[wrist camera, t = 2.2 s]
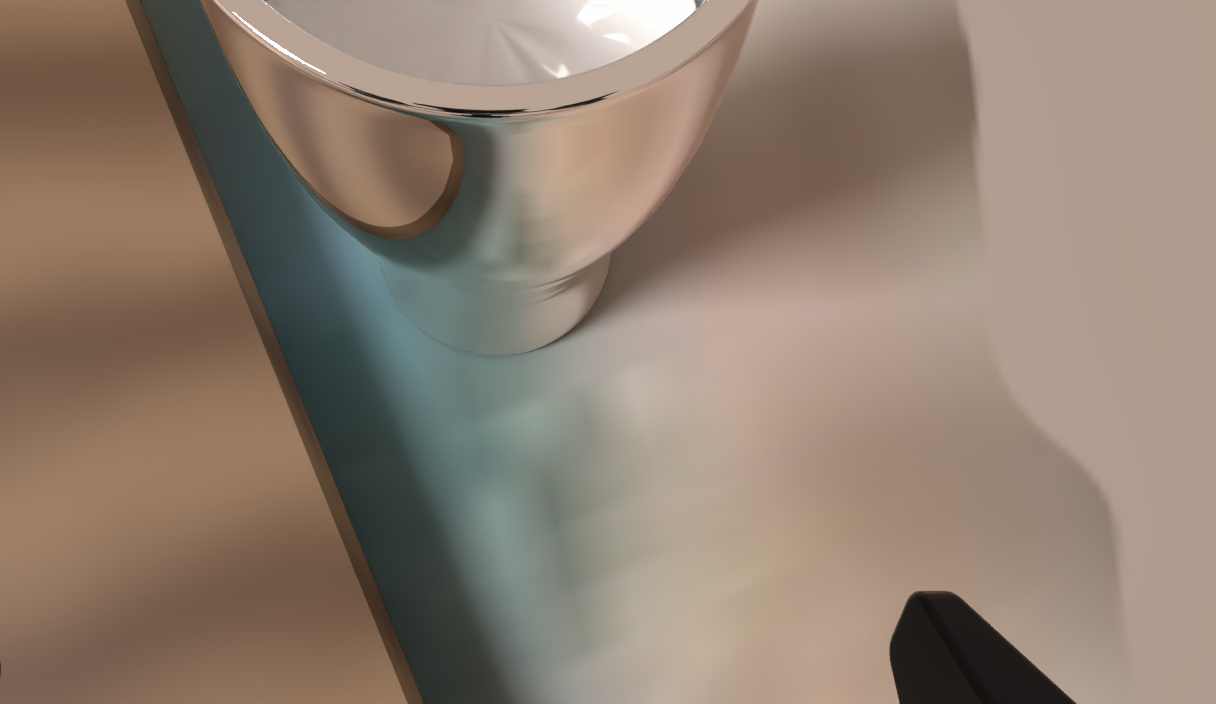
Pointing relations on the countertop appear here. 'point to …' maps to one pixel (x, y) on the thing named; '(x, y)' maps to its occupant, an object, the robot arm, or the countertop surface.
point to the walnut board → (153, 411)
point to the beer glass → (486, 138)
